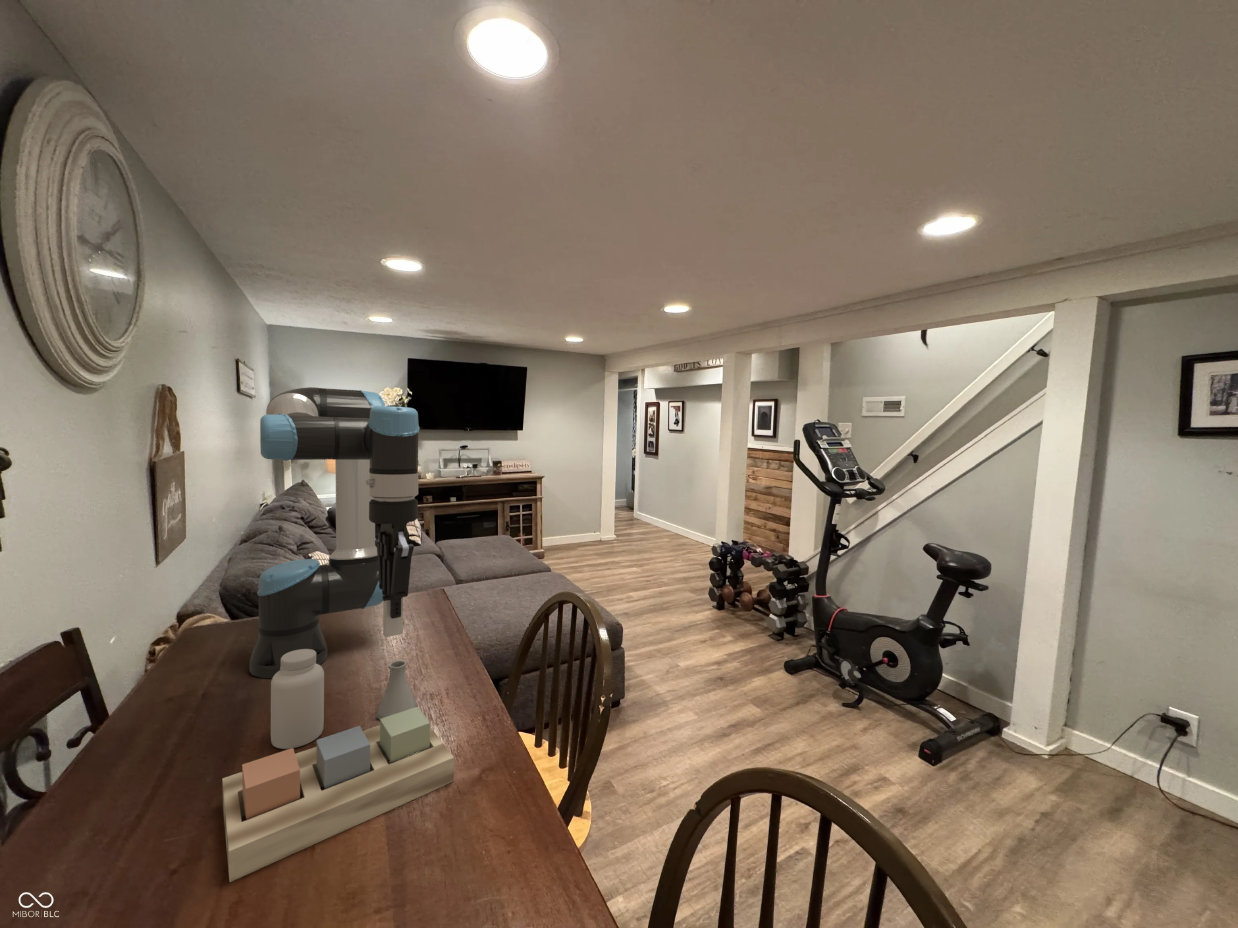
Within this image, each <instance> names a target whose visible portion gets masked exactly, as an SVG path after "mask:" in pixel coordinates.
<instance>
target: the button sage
mask: <svg viewBox="0 0 1238 928" xmlns="http://www.w3.org/2000/svg"><path fill="white" fill-rule="evenodd" d="M379 725H380V745H381V746H382V748H383V750H384V752H385V753H386V755H387V757H388V758H389V760H388V761H389V762H390V764H391V763H394V762H396V761H399V760H401V759H404V758H407V757H409V756H412V755H414V754H417V753H419V752H421V751H422V750H425V749H427V748H430V727H431V722H430V721H429V719H427V717H426V716H425V714H424V713H423V712H422V711H421V709H420V708H419V706H418V707H415V708H412V709H409V710H406V711H403V712H400V713H396V714H393V715H390V716H387V717H384V718H381V719H379Z"/></svg>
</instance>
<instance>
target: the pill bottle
mask: <svg viewBox="0 0 1238 928" xmlns="http://www.w3.org/2000/svg"><path fill="white" fill-rule="evenodd" d="M324 708H325V671H324V668H323V667H322V665H321V664H320V665H318V664H316V652H315V651H314V650H311V649H300V650H295V651H291V652H288V653H286V654H285V655H283V656H282V657H281V667H280V671H278V672H277V673H276V674H275V675H274V676H273V678H271V681H270V742H271V745H272V746H273V747H275V748H276V749H282V750H288V749H291V748H293V749H295V748H299V747H302V746H306V745H308V744H310V743H312V742H313V741H315V740H317V739H318V738H319V737H320V736H321V735H322V733H323V731H324V725H325V721H324V719H325V715H324V714H325V709H324Z"/></svg>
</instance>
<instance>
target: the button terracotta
mask: <svg viewBox="0 0 1238 928" xmlns="http://www.w3.org/2000/svg"><path fill="white" fill-rule="evenodd" d="M294 749H295V748H290V749H284V750H282V751H280V752H276V753H273V754H271V755H266V756H264V757H262V758H258V759H255V760H252V761H249V762H245V763H243V764H242V765H241V769H242V770H241V772H242V794H243V801H244V808H245V815H246V816H245V819H246V820H249V819H251V818H254V817H256V816H259V815H261V814H264V813H266V812H269V811H272V810H274V809H277V808H279V807H282V806H284V805H287V804H289V803H292V802H295V801H297V800H298V799H300V768H299V765H298V762H297V759H296V756H295V754H296V753H295V750H294Z"/></svg>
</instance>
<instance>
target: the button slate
mask: <svg viewBox="0 0 1238 928" xmlns="http://www.w3.org/2000/svg"><path fill="white" fill-rule="evenodd" d="M363 731H364V730H363V728H362V727H361V725H358V726H354V727H352V728H349V729H346V730H343V731H339V732H336V733H334V734H331V735H328V736H325V737H321V738H319V739H318V738H317V739H316V747H317V769H318V772H319V775H320V777H321V780H322V783H323V786H322V787H323V788H324V789H328V788H330V787H333V786H335V785H338V784H340V783H343V782H345V781H348V780H351V779H353V778H356V777H358V776H361V775H363V774H364V773H366V772H369V771H370V743H369V741H368V739H367V738H366V736H365V734H364V732H363Z"/></svg>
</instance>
